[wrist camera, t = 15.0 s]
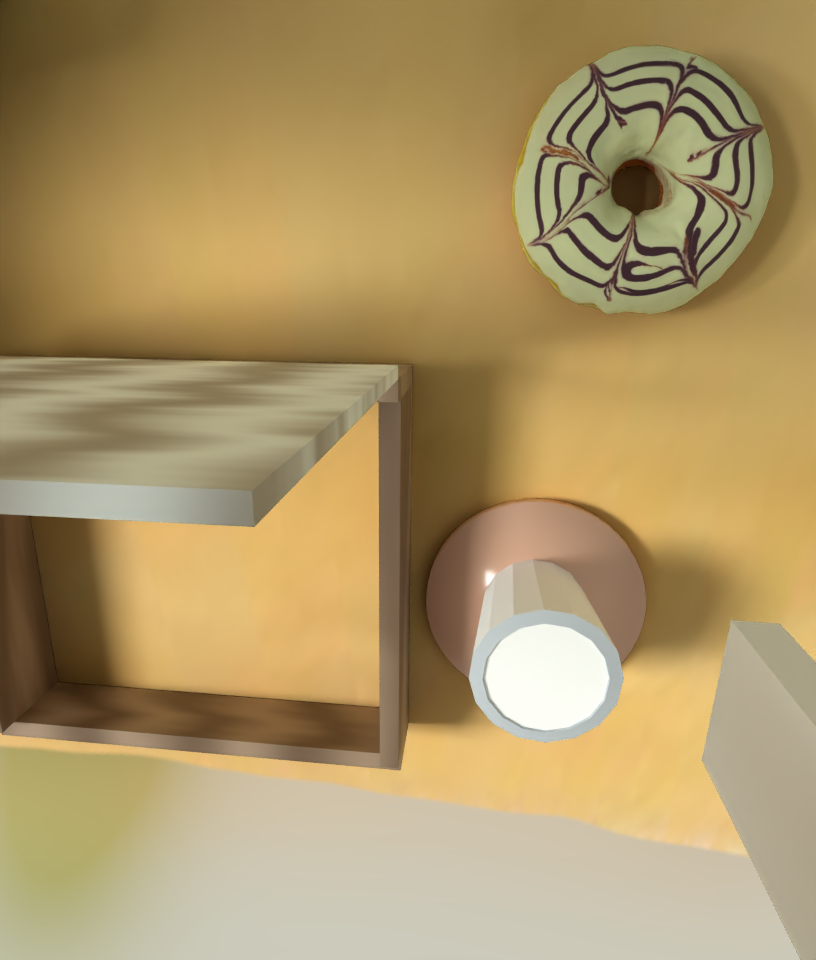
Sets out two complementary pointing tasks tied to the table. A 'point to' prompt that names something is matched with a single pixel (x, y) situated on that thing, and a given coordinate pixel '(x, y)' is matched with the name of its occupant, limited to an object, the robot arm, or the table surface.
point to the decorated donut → (667, 153)
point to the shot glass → (542, 655)
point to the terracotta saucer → (538, 536)
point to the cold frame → (193, 500)
